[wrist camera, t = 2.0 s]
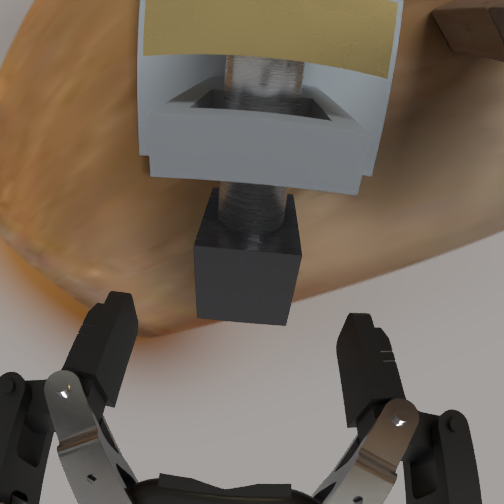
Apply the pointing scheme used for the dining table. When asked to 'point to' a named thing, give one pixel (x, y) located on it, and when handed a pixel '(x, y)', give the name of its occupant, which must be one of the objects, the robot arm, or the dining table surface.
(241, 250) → the shaft
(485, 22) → the wooden block
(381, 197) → the dining table surface
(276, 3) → the spacer
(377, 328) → the robot arm
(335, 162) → the bracket
